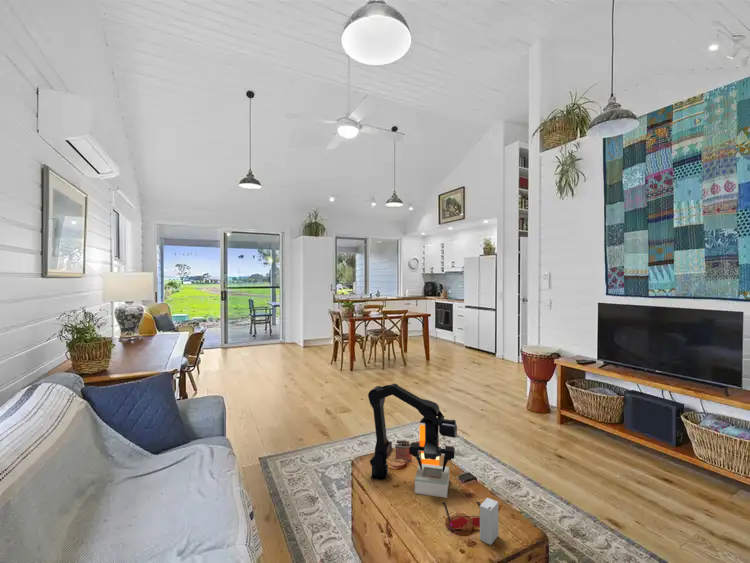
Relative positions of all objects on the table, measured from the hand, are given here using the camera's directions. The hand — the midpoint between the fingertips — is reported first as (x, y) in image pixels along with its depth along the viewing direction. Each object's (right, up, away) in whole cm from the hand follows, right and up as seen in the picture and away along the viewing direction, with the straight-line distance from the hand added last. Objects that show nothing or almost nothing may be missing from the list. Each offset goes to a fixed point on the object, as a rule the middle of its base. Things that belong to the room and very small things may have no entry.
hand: (432, 470), depth 156 cm
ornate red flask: (-10, -7, +23) cm, 26 cm away
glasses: (+9, -8, -19) cm, 22 cm away
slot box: (0, -7, 0) cm, 7 cm away
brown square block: (0, -7, 0) cm, 7 cm away
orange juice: (+1, -7, +15) cm, 17 cm away
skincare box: (+15, -8, -31) cm, 35 cm away
